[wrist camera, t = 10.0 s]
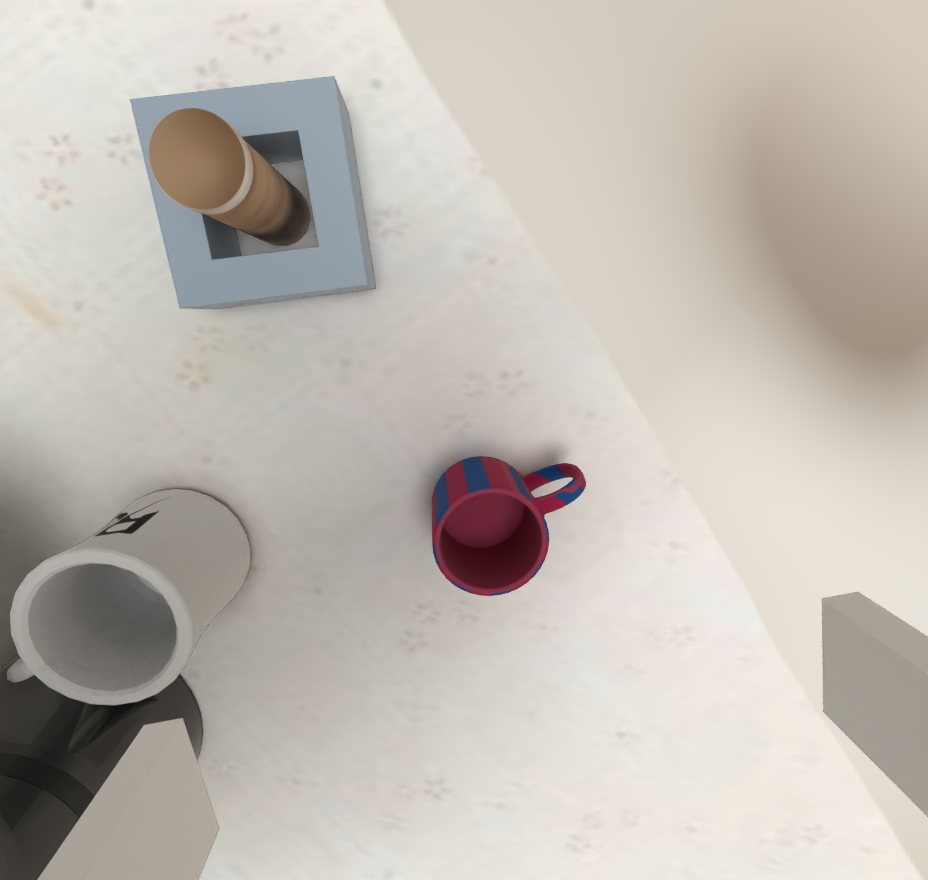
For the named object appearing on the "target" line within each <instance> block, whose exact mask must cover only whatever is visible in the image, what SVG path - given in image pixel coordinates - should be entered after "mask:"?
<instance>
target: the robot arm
mask: <svg viewBox="0 0 928 880" xmlns="http://www.w3.org/2000/svg"><path fill="white" fill-rule="evenodd" d="M822 642H823V643H822V647H823V648H822V649H823V712H824V713H825V714H826V715H827V716H828V717H829V718H830V719H831V720H832V721H833V722H834V723H835V724H836V725H837V726H838V727H839V728H840V729H841V730H842V731H843V732H844V733H845V734H846V735H847V736H848V737H849V738H850V739H851V740H852V741H853V742H854V743H855V744H856V745H857V746H858V747H859V748H860V749H861V750H862V751H863V752H864V753H865V754H866V755H867V756H868V757H869V758H870V759H871V760H872V761H873V762H874V763H875V764H876V765H877V766H878V767H879V768H880V769H881V770H882V771H883V772H884V773H885V774H886V775H887V776H888V777H889V778H890V779H891V780H892V781H893V782H894V783H895V784H896V785H897V786H898V787H899V788H900V789H901V790H902V791H903V792H904V793H905V794H906V795H907V796H908V797H909V798H910V799H911V800H912V801H913V803H914V804H916V806H917V807H918V808H919V809H920V810H921V811H923V813H924V814H925V815H926V816H927V817H928V636H926V635H924V634H923V633H921V632H920V631H918V630H917V629H915V628H914V627H912V626H910V625H909V624H907V623H906V622H904V621H903V620H901V619H900V618H898V617H896V616H895V615H893V614H892V613H890V612H889V611H887V610H886V609H884V608H883V607H881V606H879V605H877V604H876V603H875V602H873V601H871V600H870V599H869V598H867V597H865V596H864V595H862V594H861V593H859V592H854V593H848V594H843V595H838V596H832V597H827V598H822ZM20 658H21V657H20V656H19V654H18V655H17V656H15V657H14V658H13V659H12V660H10V661H9V662H8V663H7V664H6V665H4V666H3V667H2V668H1V669H0V880H199V878H200V875H201V873H202V870H203V868H204V865H205V863H206V860H207V858H208V856H209V853H210V851H211V848H212V846H213V843H214V841H215V838H216V836H217V833H218V831H219V825H218V822H217V819H216V816H215V813H214V810H213V807H212V804H211V801H210V798H209V795H208V792H207V789H206V786H205V783H204V780H203V777H202V774H201V771H200V768H199V765H198V762H197V759H198V756H199V753H200V749H201V743H202V723H201V717H200V713H199V710H198V707H197V704H196V702H195V700H194V698H193V696H192V694H191V692H190V691H189V689H188V687H187V686H186V685H185V683H184V682H183V681H182V680H181V678H180V677H179V676H177V678H176V679H175V680H174V681H173V682H172V683H171V684H169V685H168V686H167V687H165V688H164V689H163V690H161V691H160V692H159V693H157V694H155V695H153V696H150V697H148V698H145V699H143V700H140V701H138V702H132V703H126V704H120V705H99V704H89V703H86V702H82V701H79V700H75V699H72V698H69V697H67V696H65V695H63V694H61V693H59V692H57V691H55V690H54V689H52V688H50V687H48V686H47V685H46V684H45V683H43V682H42V681H41V680H40V679H39V678H38V677H36V676H35V675H33V676H32V677H30V678H28V679H26V680H23V681H19V682H11V681H9V680H7V671H8V669H9V668H10V667H11V666H12V665H13V664H14V663H15V662H16V661H17V660H19V659H20Z"/></svg>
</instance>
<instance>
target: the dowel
mask: <svg viewBox="0 0 928 880" xmlns="http://www.w3.org/2000/svg"><path fill="white" fill-rule="evenodd" d="M149 161H150V166H151V170H152V173H153V175H154V178H155V180H156V181H157V183H158V185H159V186H160V188H161V189H162V190H163V191H164V193H165V194H166V195H167V196H168V197H170V198H171V199H172V200H173V201H175V202H176V203H178V204H180V205H182V206H184V207H186V208H188V209H190V210H193V211H195V212H198V213H202V214H205V215H207V216H209V217H211V218H214V219H216V220H218V221H221V222H223V223H225V224H227V225H230V226H232V227H234V228H236V229H239V230H241V231H243V232H245V233H248V234H250V235H252V236H254V237H257V238H259V239H261V240H263V241H266V242H268V243H270V244H273V245H277V246H287V245H291V244H293V243H295V242H297V241H298V240H300V239H301V238H302V237H303V236H304V234H305V233H306V231H307V229H308V226H309V222H310V211H309V207H308V204H307V202H306V200H305V198H304V197H303V195H302V194H301V193H300V192H299V191H298V190H297V189H296V188H295V187H294V186H293V185H292V184H291V183H290V182H288V181H287V180H286V179H285V178H284V177H283V176H282V175H281V174H280V173H279V172H278V171H277V170H276V169H275V168H274V167H272V166H271V165H270V164H269V163H268V162H267V161H266V160H265V159H264V158H263V157H262V156H261V155H260V154H259V153H258V152H257V151H255V150H254V149H253V148H252V147H251V146H250V145H249V144H248V143H247V142H246V141H245V140H244V139H243V138H242V137H241V136H240V134H239V133H238V132H237V131H236V130H235V129H234V128H233V127H232V126H231V125H230V124H229V123H228V122H226V121H225V120H224V119H223V118H221V117H220V116H218V115H217V114H215V113H213V112H210V111H208V110H205V109H200V108H184V109H179V110H177V111H174V112H172V113H170V114H169V115H167V116H166V117H164V118H163V119H162V120H161V121H160V122H159V124H158V125H157V126H156V128H155V130H154V132H153V134H152V137H151V140H150V145H149Z"/></svg>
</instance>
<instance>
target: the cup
mask: <svg viewBox="0 0 928 880" xmlns="http://www.w3.org/2000/svg"><path fill="white" fill-rule="evenodd" d="M567 477H572V478H573V480H572V481H571V482H570V483H568V484H567V485H566V486H564V487H563V488H561V489H559V490H557V491H555V492H553V493H551V494H548V495H545V496H541V497H537V498H535V497H533V496H532V494H531V491H533V490H535V489H536V488H538V487H540V486H542V485H544V484H546V483H549V482H551V481H555V480H558V479H562V478H567ZM585 486H586V481H585V478H584V475H583V473H582V472H581V470H580V469H579V468H578V467H577V466H575V465H573V464H568V463H562V464H556V465H552V466H549V467H546V468H543V469H540V470H538V471H535V472H533V473H530V474H528V475H526V476H524V477H522V476H520V475H519V473H518V472H517V471H516V470H515V469H514V468H513V467H511V466H510V465H508V464H507V463H505V462H503V461H501V460H499V459H495V458H491V457H472V458H468V459H465V460H462V461H460V462H458V463H456V464H455V465H453V466H452V467H450V468H449V469H448V470H447V471H446V472H445V473H444V474H443V475H442V477H441V478H440V479H439V481H438V483H437V485H436V487H435V489H434V493H433V498H432V542H433V553H434V557H435V560H436V563H437V565H438V567H439V569H440V571H441V572H442V573H443V574H444V576H445V577H446V578H447V579H448V580H449V581H450V582H451V583H452V584H454V585H455V586H457V587H458V588H460V589H462V590H464V591H467V592H469V593H472V594H477V595H485V596H493V595H501V594H505V593H508V592H511V591H513V590H516V589H518V588H520V587H521V586H523V585H524V584H526V583H527V582H528V581H529V580H530V579H531V578H533V577H534V576H535V574H536V573H537V572H538V570H539V569H540V568H541V566H542V564H543V562H544V560H545V558H546V554H547V551H548V545H549V532H548V528H547V524H546V521H545V519H544V515H545V514H546V513H549V512H552V511H555V510H557V509H560V508H562V507H564V506H566V505H568V504H569V503H571V502H572V501H574V500H575V499H577V498H578V497H579V496H580V495H581V493H582V492H583V491H584V489H585Z"/></svg>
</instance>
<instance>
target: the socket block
mask: <svg viewBox="0 0 928 880" xmlns="http://www.w3.org/2000/svg"><path fill="white" fill-rule="evenodd" d="M130 102H131V106H132V110H133V114H134V118H135V123H136V127H137V131H138V135H139V139H140V144H141V148H142V152H143V156H144V160H145V165H146V169H147V173H148V177H149V181H150V186H151V190H152V194H153V198H154V202H155V207H156V211H157V215H158V219H159V223H160V227H161V232H162V236H163V240H164V244H165V248H166V253H167V257H168V261H169V265H170V269H171V274H172V278H173V282H174V286H175V290H176V295H177V299H178V303H179V307H180V308H196V309H219V308H227V307H235V306H243V305H251V304H259V303H267V302H275V301H283V300H291V299H299V298H306V297H314V296H322V295H330V294H338V293H346V292H354V291H362V290H370V289H376V285H375V278H374V272H373V266H372V259H371V253H370V246H369V240H368V233H367V227H366V221H365V214H364V208H363V201H362V195H361V189H360V182H359V176H358V169H357V163H356V157H355V150H354V144H353V137H352V131H351V124H350V118H349V112H348V110H347V107H346V105H345V102H344V100H343V97H342V95H341V92H340V90H339V87H338V85H337V82H336V80H335V77H334V76H331V77H322V78H314V79H305V80H296V81H287V82H278V83H270V84H261V85H252V86H243V87H234V88H225V89H217V90H208V91H199V92H190V93H181V94H173V95H164V96H155V97H146V98H137V99H130ZM184 108H200V109H205V110H208V111H210V112H213V113H215V114H217V115H218V116H220V117H221V118H223V119H224V120H225V121H226V122H228V123H229V124H230V125H231V126H232V127H233V128H234V129H235V130H236V131H237V132H238V133H239V134H240V136H241V137H242V138H243V139H244V140H245V141H246V142H247V143H248V144H249V145H250V146H251V147H252V148H253V149H254V150H255V151H257V152H258V153H259V154H260V155H261V156H262V157H263V158H264V159H265V160H266V161H267V162H268V163H278V162H286V161H295V160H304V166H305V172H306V177H307V183H308V189H309V194H310V200H311V206H312V211H313V217H314V223H315V228H316V234H317V240H318V245H319V247H312V248H304V249H296V250H288V251H280V252H272V253H264V254H255V255H247V256H241V253H240V249H239V244H238V239H237V234H236V229H235V228H234V227H232V226H230V225H227V224H225V223H223V222H221V221H218V220H216V219H214V218H211V217H209V216H207V215H205V214H202V213H198V212H195V211H193V210H190V209H188V208H186V207H184V206H182V205H180V204H178V203H176V202H175V201H173V200H172V199H171V198H170V197H168V196H167V195H166V194H165V193H164V191H163V190H162V189H161V188H160V186H159V185H158V183H157V181H156V180H155V178H154V175H153V173H152V170H151V166H150V161H149V145H150V140H151V137H152V134H153V132H154V130H155V128H156V126H157V125H158V124H159V122H160V121H161V120H162V119H163V118H164V117H166V116H167V115H169V114H170V113H172V112H174V111H177V110H179V109H184Z"/></svg>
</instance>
